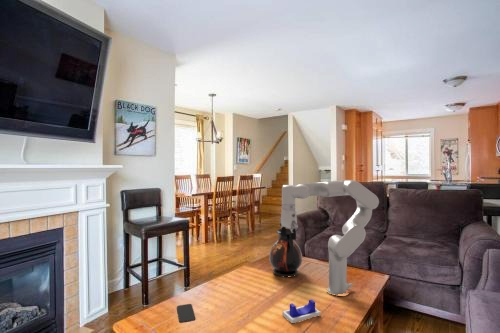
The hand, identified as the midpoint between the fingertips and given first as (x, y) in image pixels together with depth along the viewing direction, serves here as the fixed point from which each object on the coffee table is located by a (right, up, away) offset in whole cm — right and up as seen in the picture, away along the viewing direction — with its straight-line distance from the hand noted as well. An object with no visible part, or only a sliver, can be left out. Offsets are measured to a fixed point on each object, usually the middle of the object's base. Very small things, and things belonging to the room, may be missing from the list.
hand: (288, 237), depth 156 cm
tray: (+3, -31, -25) cm, 39 cm away
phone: (-52, -31, -23) cm, 65 cm away
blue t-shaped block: (+3, -30, -25) cm, 39 cm away
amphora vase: (+2, -30, +27) cm, 40 cm away
